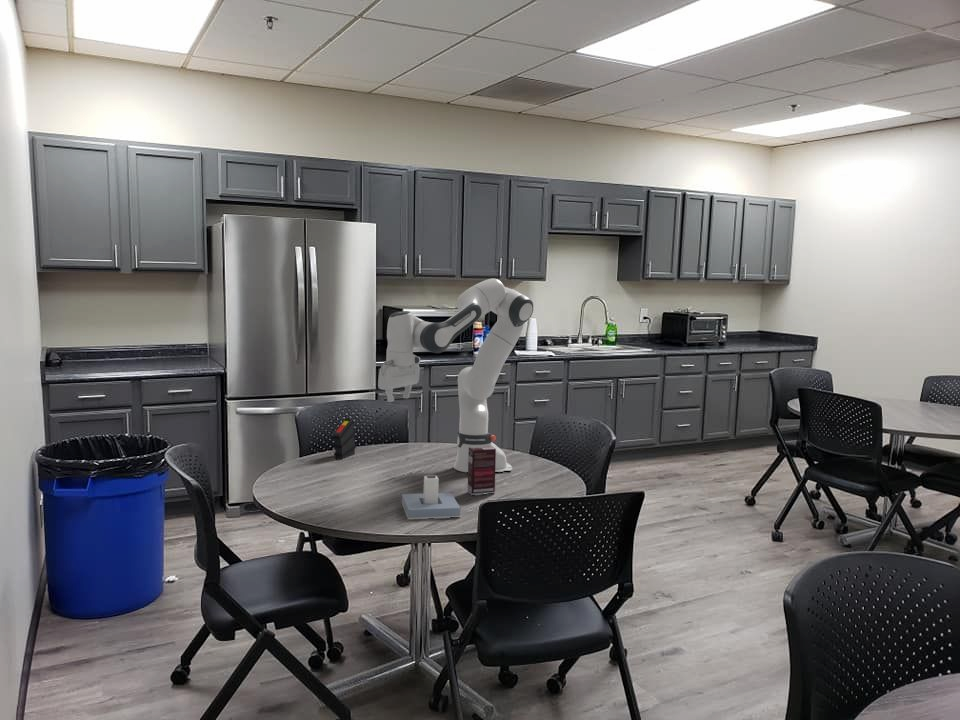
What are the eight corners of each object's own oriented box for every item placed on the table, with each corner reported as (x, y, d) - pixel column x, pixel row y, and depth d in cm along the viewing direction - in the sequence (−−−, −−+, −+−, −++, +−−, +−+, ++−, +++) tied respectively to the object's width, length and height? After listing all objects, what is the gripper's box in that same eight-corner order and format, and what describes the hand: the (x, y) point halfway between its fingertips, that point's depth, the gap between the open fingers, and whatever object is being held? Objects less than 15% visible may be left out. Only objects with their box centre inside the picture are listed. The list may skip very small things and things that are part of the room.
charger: (435, 506, 228) (436, 473, 227) (437, 510, 224) (438, 476, 223) (423, 506, 227) (424, 473, 226) (425, 510, 223) (426, 477, 222)
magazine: (359, 448, 296) (352, 418, 289) (344, 468, 286) (337, 438, 278) (351, 447, 298) (344, 417, 290) (336, 467, 287) (328, 437, 279)
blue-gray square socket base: (450, 501, 235) (450, 492, 235) (460, 517, 220) (460, 507, 219) (401, 503, 232) (402, 494, 231) (408, 519, 216) (408, 509, 216)
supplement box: (489, 490, 249) (491, 445, 248) (495, 494, 245) (496, 448, 243) (466, 492, 246) (468, 446, 245) (471, 496, 242) (472, 450, 240)
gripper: (389, 362, 231) (389, 405, 233) (423, 357, 250) (422, 397, 251) (373, 361, 234) (373, 403, 236) (407, 356, 252) (406, 395, 254)
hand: (398, 399), depth 244 cm, fingers open, 8 cm apart
